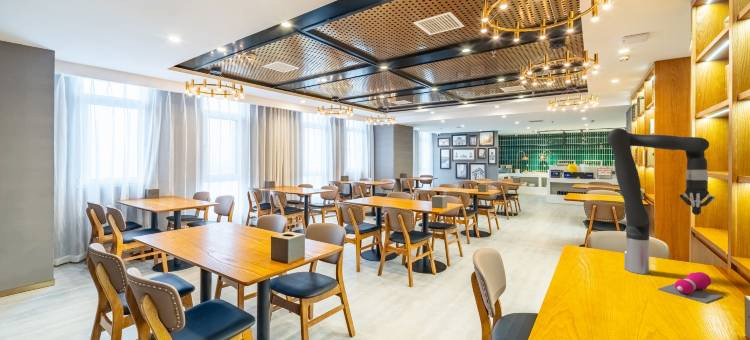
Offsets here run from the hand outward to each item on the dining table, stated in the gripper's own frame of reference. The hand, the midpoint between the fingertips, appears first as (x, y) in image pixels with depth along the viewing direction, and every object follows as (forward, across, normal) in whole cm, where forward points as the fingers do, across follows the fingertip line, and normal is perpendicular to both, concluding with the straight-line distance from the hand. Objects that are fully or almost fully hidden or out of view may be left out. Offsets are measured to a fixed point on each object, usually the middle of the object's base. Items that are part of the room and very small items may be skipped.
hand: (696, 214), depth 159 cm
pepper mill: (+27, +8, -15) cm, 32 cm away
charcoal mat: (+31, +8, -27) cm, 42 cm away
